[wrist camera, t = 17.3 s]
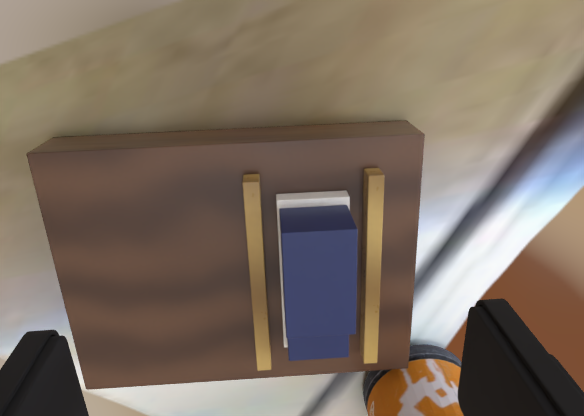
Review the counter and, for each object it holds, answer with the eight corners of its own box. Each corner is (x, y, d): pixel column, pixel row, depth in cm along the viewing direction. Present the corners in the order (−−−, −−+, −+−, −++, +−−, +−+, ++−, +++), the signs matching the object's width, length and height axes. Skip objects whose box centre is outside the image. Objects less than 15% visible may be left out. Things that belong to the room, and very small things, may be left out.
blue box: (275, 193, 30) (277, 225, 26) (346, 190, 31) (360, 220, 26) (283, 337, 35) (286, 384, 30) (345, 333, 35) (357, 380, 30)
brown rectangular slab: (53, 137, 32) (13, 160, 27) (407, 120, 33) (432, 139, 28) (102, 354, 39) (78, 405, 34) (395, 335, 40) (414, 382, 35)
